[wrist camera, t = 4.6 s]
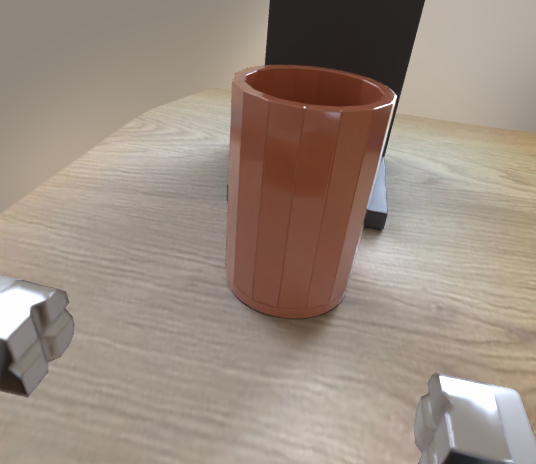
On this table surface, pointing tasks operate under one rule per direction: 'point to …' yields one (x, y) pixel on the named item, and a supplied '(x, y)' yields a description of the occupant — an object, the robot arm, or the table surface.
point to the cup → (300, 183)
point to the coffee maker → (348, 50)
